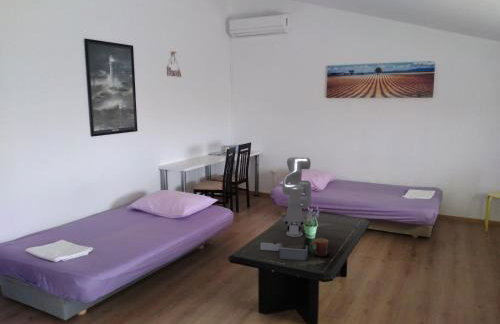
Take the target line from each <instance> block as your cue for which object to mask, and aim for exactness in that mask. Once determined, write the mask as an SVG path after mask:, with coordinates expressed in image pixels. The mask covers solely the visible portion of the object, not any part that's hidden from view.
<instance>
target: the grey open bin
mask: <svg viewBox="0 0 500 324" xmlns="http://www.w3.org/2000/svg"><path fill="white" fill-rule="evenodd" d="M279 244H280V247H279V252H278V259H279V260H291V261H292V260H293V261H308V260H307V259H308V245H305V248H292V247H291V248H289V247H283V243H279Z"/></svg>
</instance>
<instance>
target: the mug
mask: <svg viewBox="0 0 500 324" xmlns="http://www.w3.org/2000/svg"><path fill="white" fill-rule="evenodd" d="M314 244H315V248H313V245H314ZM328 245H329V240H328V239H327V238H322V237H320V238H316V239H315V240H314V241H312V242H311V243H310V248H311V250H312V251H313V252H315V255H316V256H317V257H319V258H325V257H326V256H327V255H328Z"/></svg>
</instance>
